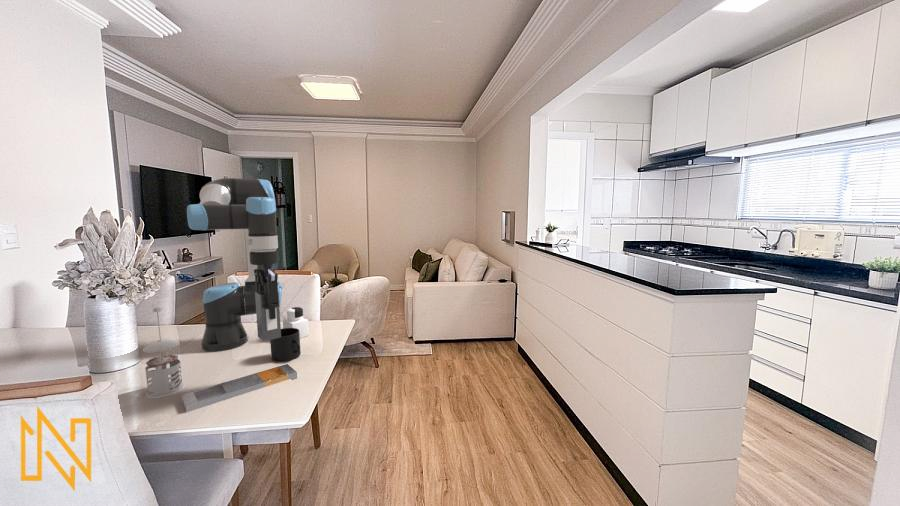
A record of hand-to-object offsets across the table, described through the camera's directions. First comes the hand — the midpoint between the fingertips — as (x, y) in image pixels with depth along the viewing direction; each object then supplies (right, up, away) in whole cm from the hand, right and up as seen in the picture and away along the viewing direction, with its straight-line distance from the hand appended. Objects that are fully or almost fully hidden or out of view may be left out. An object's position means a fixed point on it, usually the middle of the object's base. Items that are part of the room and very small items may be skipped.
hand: (268, 326), depth 107 cm
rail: (-6, -18, -3) cm, 19 cm away
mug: (-3, -15, +19) cm, 24 cm away
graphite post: (0, -3, 0) cm, 3 cm away
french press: (-28, -18, -4) cm, 33 cm away
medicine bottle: (-9, -12, +39) cm, 42 cm away
